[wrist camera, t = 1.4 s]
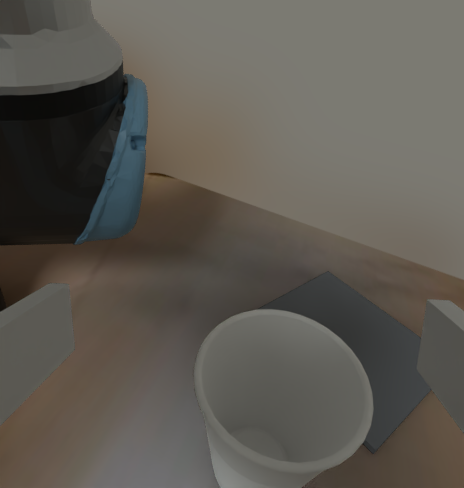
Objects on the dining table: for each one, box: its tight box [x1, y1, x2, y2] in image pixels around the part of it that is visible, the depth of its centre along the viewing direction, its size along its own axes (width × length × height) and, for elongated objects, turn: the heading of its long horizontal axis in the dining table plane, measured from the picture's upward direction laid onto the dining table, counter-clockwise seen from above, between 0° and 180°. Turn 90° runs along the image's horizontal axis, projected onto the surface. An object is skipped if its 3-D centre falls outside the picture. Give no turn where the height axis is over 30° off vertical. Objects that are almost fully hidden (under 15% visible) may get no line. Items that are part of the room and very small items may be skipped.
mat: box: [257, 271, 431, 454], centre depth 36 cm, size 16×14×1 cm
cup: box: [193, 309, 374, 488], centre depth 23 cm, size 10×10×11 cm
